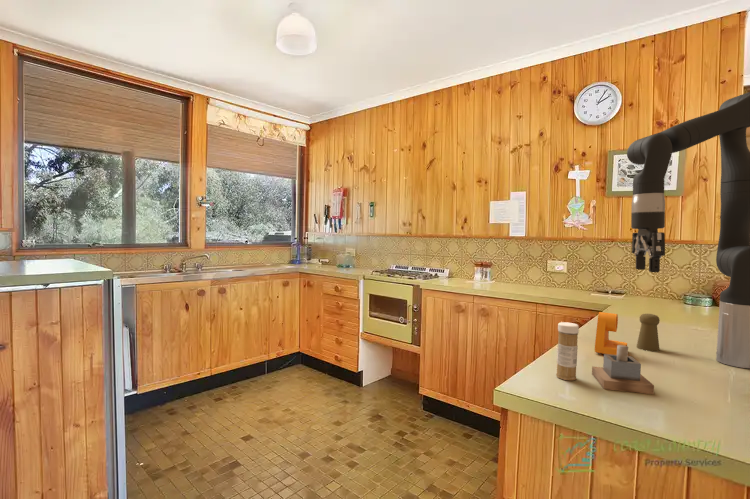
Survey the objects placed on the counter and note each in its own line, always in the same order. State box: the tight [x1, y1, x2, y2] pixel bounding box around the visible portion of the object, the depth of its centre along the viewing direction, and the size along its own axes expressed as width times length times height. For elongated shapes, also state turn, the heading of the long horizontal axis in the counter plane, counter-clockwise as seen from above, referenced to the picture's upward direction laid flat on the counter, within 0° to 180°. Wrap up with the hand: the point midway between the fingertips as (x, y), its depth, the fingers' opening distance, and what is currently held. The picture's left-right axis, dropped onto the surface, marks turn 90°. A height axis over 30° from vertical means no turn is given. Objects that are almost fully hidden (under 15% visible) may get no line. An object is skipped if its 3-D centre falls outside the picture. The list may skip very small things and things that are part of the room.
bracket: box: [594, 311, 628, 355], centre depth 120 cm, size 11×7×12 cm, turn 142°
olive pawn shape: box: [636, 313, 661, 352], centre depth 126 cm, size 6×6×11 cm
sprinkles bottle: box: [555, 321, 580, 381], centre depth 98 cm, size 5×5×14 cm
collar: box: [602, 354, 642, 381], centre depth 95 cm, size 6×6×4 cm
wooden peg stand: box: [591, 345, 655, 395], centre depth 95 cm, size 10×10×9 cm
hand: (647, 270), depth 109 cm, fingers open, 8 cm apart
